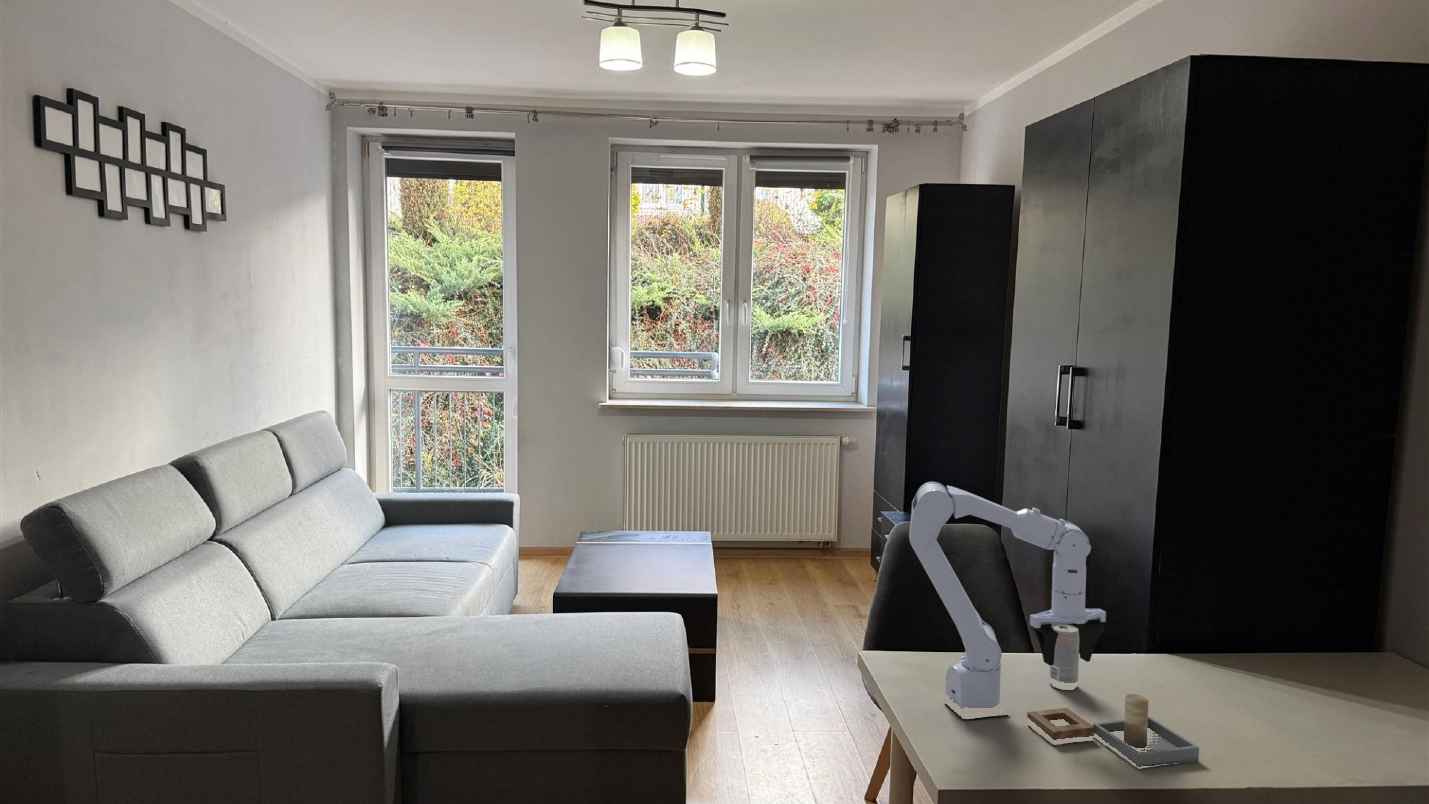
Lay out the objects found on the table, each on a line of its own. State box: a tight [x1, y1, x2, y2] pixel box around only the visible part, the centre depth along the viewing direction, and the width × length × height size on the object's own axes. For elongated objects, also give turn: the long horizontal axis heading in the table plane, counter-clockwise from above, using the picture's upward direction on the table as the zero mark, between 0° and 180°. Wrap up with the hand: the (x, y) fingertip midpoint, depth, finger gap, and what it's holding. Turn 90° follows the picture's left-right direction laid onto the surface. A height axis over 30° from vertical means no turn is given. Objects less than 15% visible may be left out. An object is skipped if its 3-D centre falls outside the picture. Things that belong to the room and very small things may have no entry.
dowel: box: [1123, 693, 1150, 748], centre depth 151 cm, size 4×4×8 cm
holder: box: [1026, 707, 1094, 740], centre depth 156 cm, size 8×8×2 cm
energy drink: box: [1049, 624, 1080, 683], centre depth 176 cm, size 5×5×12 cm
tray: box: [1092, 716, 1200, 767], centre depth 150 cm, size 12×12×2 cm
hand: (1066, 661), depth 162 cm, fingers open, 7 cm apart
